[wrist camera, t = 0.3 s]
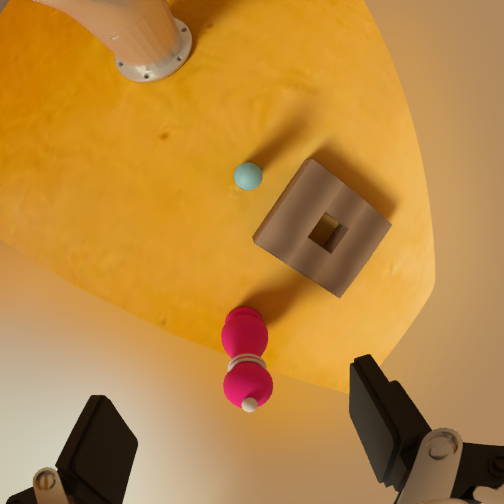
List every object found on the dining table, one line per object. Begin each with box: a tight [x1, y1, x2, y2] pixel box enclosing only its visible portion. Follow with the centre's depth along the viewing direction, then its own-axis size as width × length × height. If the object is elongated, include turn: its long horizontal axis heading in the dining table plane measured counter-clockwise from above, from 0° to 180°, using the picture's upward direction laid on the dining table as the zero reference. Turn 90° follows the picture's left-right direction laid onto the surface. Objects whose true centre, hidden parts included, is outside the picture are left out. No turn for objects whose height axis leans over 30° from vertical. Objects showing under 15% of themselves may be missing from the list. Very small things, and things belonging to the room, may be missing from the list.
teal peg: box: [234, 162, 262, 190], centre depth 35 cm, size 3×3×11 cm
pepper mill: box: [221, 307, 273, 412], centre depth 37 cm, size 7×7×20 cm
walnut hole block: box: [253, 159, 392, 298], centre depth 41 cm, size 16×14×4 cm
